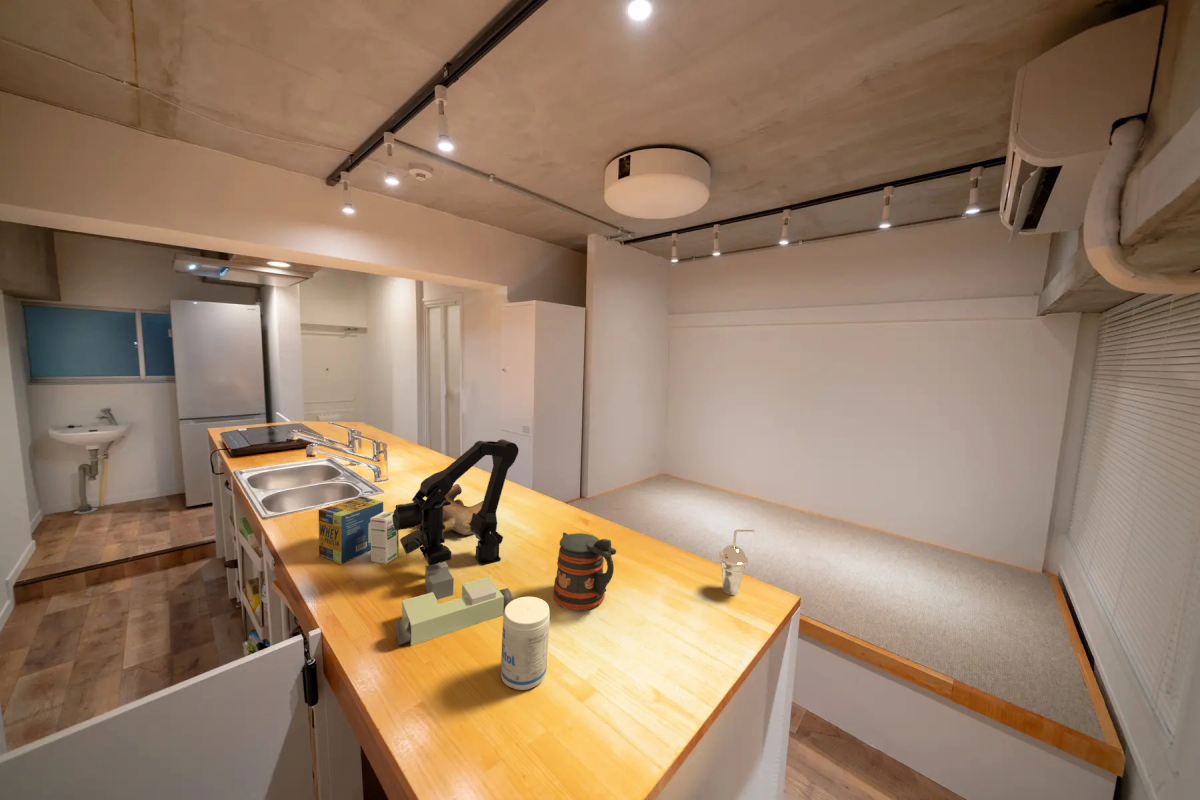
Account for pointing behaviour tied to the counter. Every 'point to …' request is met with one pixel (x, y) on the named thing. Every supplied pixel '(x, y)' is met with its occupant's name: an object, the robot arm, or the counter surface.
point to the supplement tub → (525, 642)
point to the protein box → (347, 528)
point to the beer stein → (582, 571)
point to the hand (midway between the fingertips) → (432, 572)
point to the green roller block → (450, 611)
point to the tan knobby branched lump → (457, 513)
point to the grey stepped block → (439, 580)
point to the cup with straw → (733, 566)
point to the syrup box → (383, 538)
